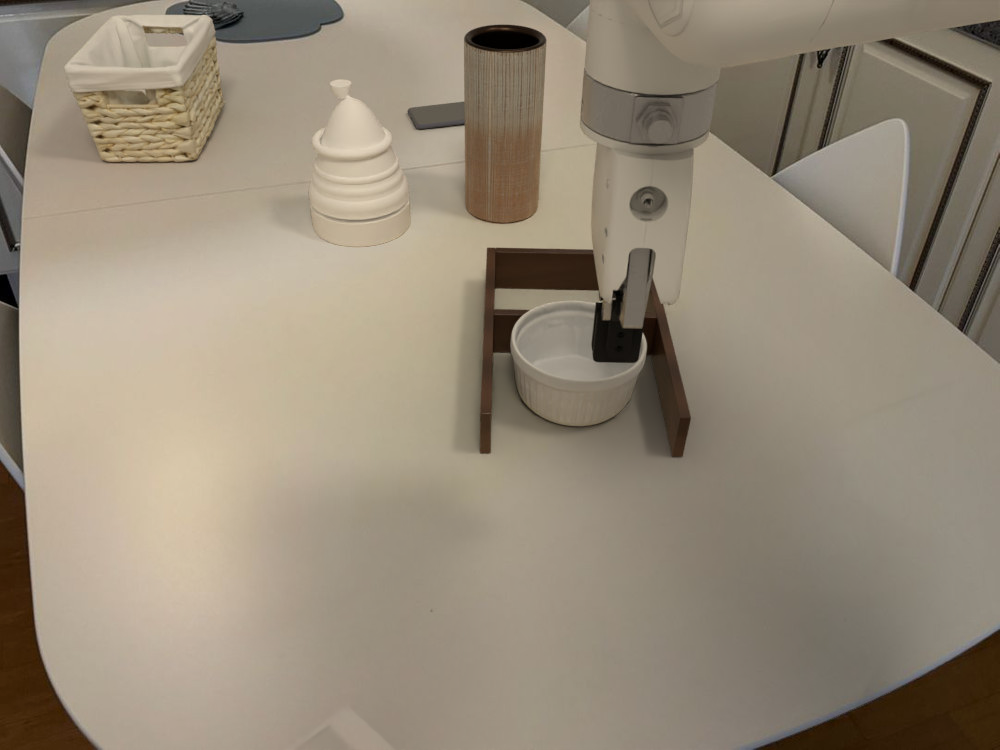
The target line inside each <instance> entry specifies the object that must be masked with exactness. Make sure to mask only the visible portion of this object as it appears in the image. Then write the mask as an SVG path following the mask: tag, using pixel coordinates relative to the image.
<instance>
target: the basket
mask: <svg viewBox="0 0 1000 750" xmlns="http://www.w3.org/2000/svg"><path fill="white" fill-rule="evenodd" d="M213 21H214V20H213V18H212V17H210V16H209V15H207V14H202V15H199V14H198V15H196V14H131V15H130V14H129V15H128V14H125V15H123V14H120V15H119V14H116V15H112V16H111V17H109V18H108V19H107V20H106V22H105V23H104V24H102V25H101V26H100V27H99V28H98V29H97V30H96V32H94V33H93V35H92V36H91V37H90V38H89V39H88V40H87V42H85V43H84V45H82V46H81V48H80V49H79V50H78V51H77V52H76V53H74V55H73V56H72V57H70V59H69V60H68V61H67V62H66V64H65V65H64V67H63V69H64V74H65V76H66V80H67V82H68V83H67V84H68V88H69V89H70V92H71V93H72V95H73V97H74V98H75V100H76V102H77V105H78V107H79V109H80V112H81V114H82V116H83V120H84V122H85V124H86V126H87V130H88V132H89V134H90V136H91V138H92V140H93V142H94V144H95V147H96V150H97V152H98V155H99V157H100V159H101V160H102V161H105V162H109V163H120V162H124V163H134V162H140V163H149V162H150V163H153V162H154V163H156V162H157V163H167V162H174V163H181V162H188V161H195V160H197V159H198V158H199V156H200V154H201V153H202V150H203V148H204V147H205V145H206V143H207V140H208V139H209V137H210V136H211V134H212V131H213V130H214V127H215V124H216V122H217V120H218V118H219V116H220V113H221V112H222V110H223V107H224V104H225V103H226V100H224V98H223V95H224V94H223V90H222V84H221V83H222V80H221V76H220V74H221V73H220V65H219V62H218V49H217V47H216V46H217V45H218V43H217V38H216V33H217V32H216V29H215V24H214V22H213ZM146 34H166V35H167V34H171V35H174V34H183V37H184V40H185V45H181V46H152V45H149V44H148V39H147V35H146Z"/></svg>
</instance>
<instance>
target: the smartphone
mask: <svg viewBox="0 0 1000 750" xmlns="http://www.w3.org/2000/svg"><path fill="white" fill-rule="evenodd" d="M407 114H408V115H409V117H410V119H411V120H412V123H413V124H414V127H415V128H416V129H418V130H426V129H427V130H428V129H434V128H442V127H450V126H459V125H465V109H464V101H457V102H449V103H448V102H446V103H440V104H439V103H438V104H430V105H422V106H414V107H413V106H412V107H409V108H408V109H407Z"/></svg>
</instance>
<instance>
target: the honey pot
mask: <svg viewBox="0 0 1000 750" xmlns="http://www.w3.org/2000/svg"><path fill="white" fill-rule="evenodd" d="M329 87H330V90H331V93H332V95H333V96H334V97H335V98H336V99H338V100H341V101H340V102H339V103H337V105H336V106H335V108H334V109H333V110H332V112H331V113H330V116H329V117H328V120H327V122H326V124H325V126H323V127H322V128H320V129H319V130H316V132H315V133H314V134H313V135H312V137H311V141H310V144H311V146H312V148H313V150H314V151H315V152H316V153H317V155H316V157H315V159H314V161H313V166H312V167H313V170H312V173H311V180H310V181H309V185H308V195H309V197H308V198H309V199H308V200H309V207H310V215H311V222H312V228H313V230H314V233H315V234H316V235H317V236H318V237H319V238H320V239H323V240H324V241H325V242H328V243H330V244H334V245H337V246H342V247H348V248H349V247H352V248H361V247H362V248H364V247H365V248H366V247H373V246H378V245H382V244H386V243H389V242H392V241H394V240H396V239H397V238H399V237H401V236H403V234H405V233H406V232H407V231H408V229H409V227H411V204H410V203H411V202H410V191H409V190H410V189H409V188H410V187H409V186H410V185H409V182H408V181H409V180H408V179H407V178H406V176H405V174H404V171H403V168H402V167H401V165H400V159H399V157H398V155H397V154H396V152H395V150H394V148H393V146H392V144H393V135H392V133H391V131H390V130H389V129H387V128H386V127H384V126H383V125H381V123H380V121H379V119H378V118H377V116H376V115H375V114H374V112H373V111H372V109H370V107H369V106H368V105H367V104H365V103H364V102H363V101H361V100H360V99H358V98H355V97H352V96H351V95H350V94H351V92H352V81H350V80H348V79H334V80H332V81H330V82H329Z"/></svg>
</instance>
